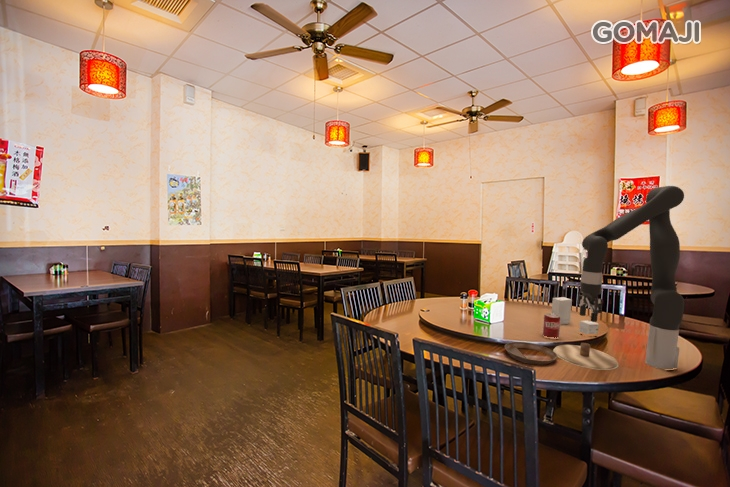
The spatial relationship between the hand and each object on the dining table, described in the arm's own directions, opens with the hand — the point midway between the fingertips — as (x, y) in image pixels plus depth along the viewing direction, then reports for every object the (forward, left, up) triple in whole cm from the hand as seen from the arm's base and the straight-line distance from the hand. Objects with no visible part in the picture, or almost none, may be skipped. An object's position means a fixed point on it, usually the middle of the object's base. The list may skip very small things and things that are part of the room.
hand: (587, 318), depth 145 cm
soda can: (+4, -23, -18) cm, 30 cm away
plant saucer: (+24, +2, -18) cm, 30 cm away
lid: (0, 0, -17) cm, 17 cm away
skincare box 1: (-13, -49, -18) cm, 54 cm away
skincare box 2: (-18, -30, -18) cm, 39 cm away
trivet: (0, 0, -18) cm, 18 cm away
